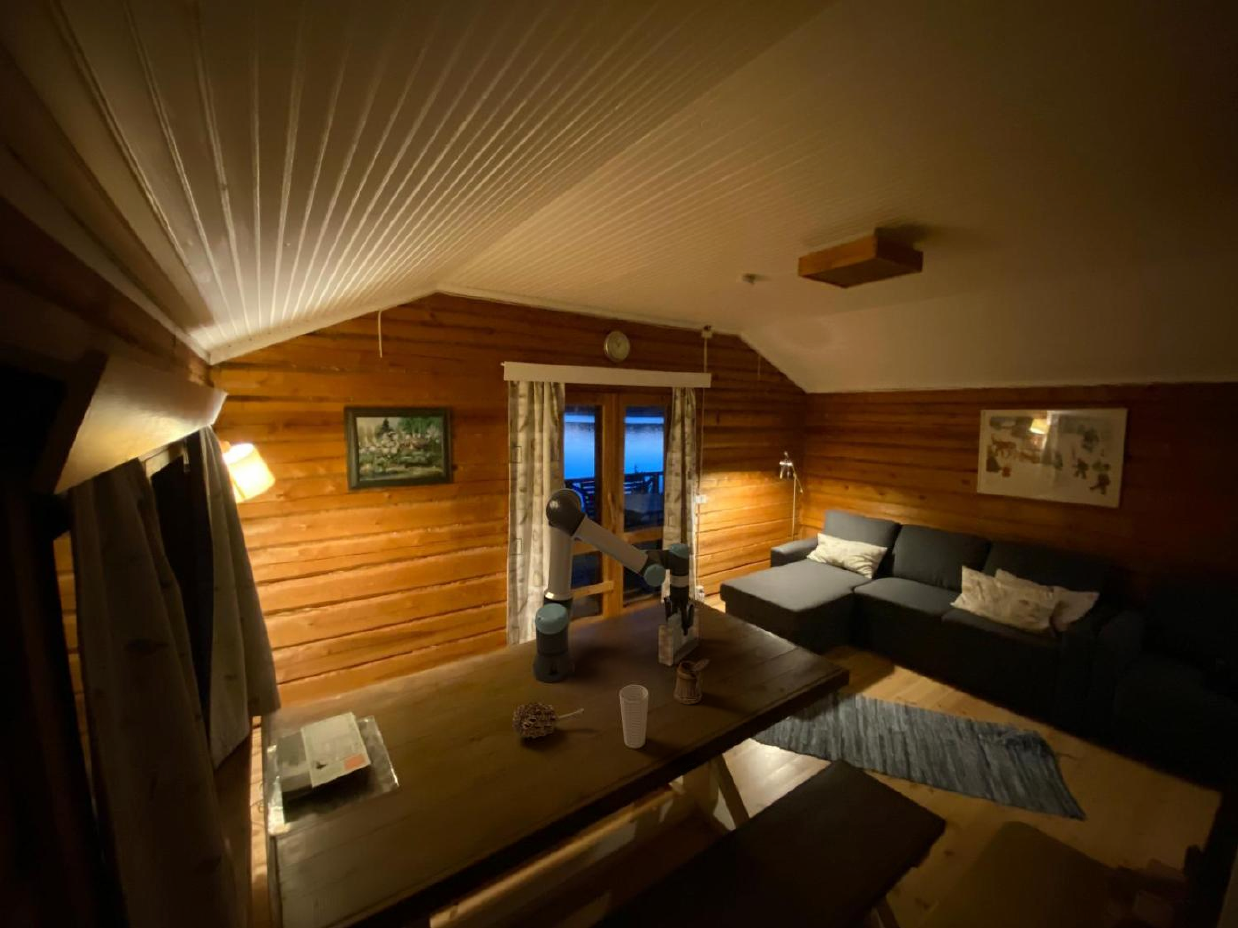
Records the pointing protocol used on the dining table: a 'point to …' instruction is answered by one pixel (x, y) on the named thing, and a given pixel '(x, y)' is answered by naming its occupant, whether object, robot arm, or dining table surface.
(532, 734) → the dried seed pod
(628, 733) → the cup
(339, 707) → the dining table surface
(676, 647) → the door panel
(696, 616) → the u-shaped holder
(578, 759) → the dining table surface
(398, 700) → the dining table surface
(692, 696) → the wooden mug
